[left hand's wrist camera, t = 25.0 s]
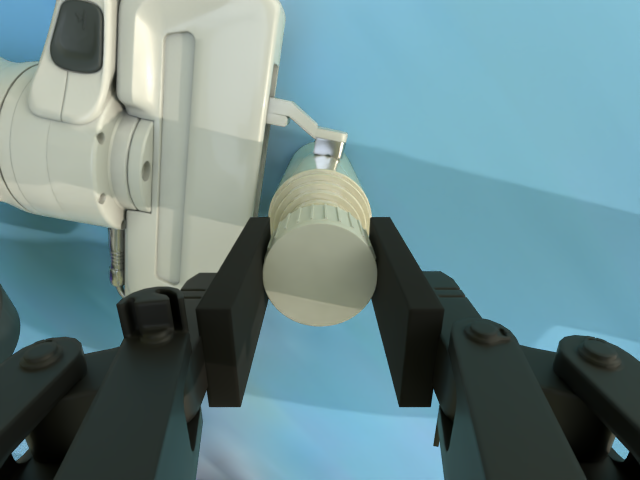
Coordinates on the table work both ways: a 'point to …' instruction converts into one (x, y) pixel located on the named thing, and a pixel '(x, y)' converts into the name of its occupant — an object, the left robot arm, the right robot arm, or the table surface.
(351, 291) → the cap
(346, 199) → the bottle
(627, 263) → the table surface
